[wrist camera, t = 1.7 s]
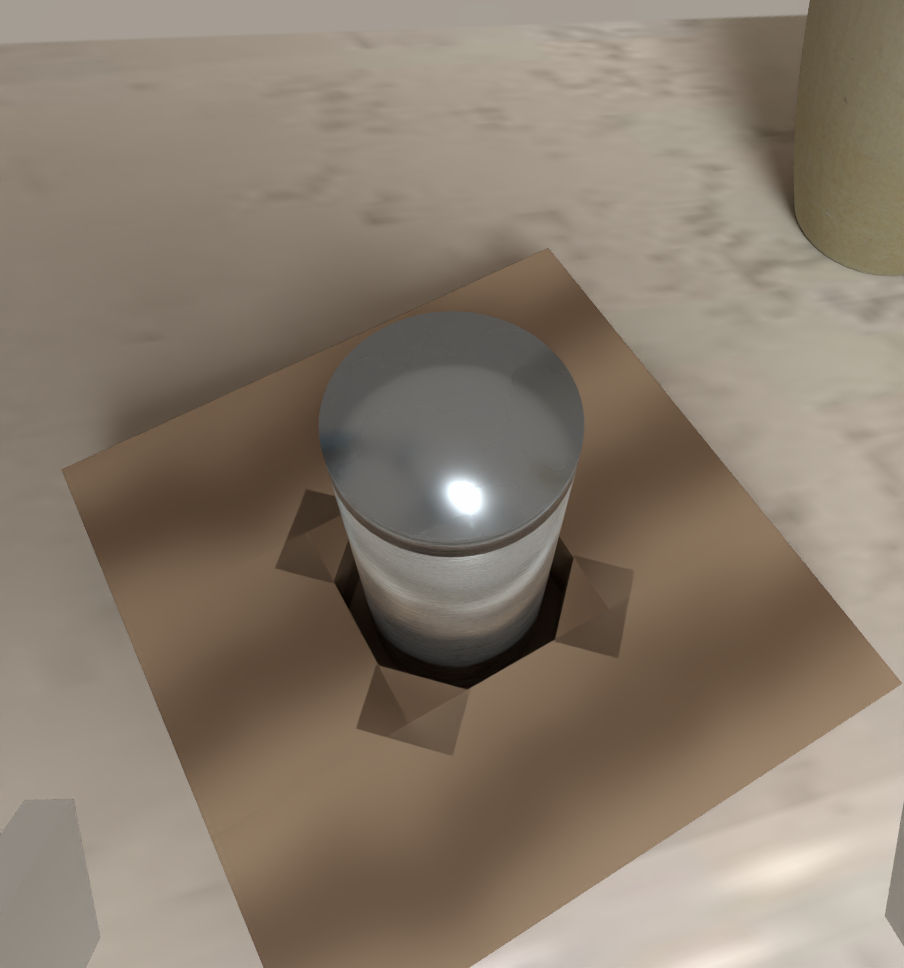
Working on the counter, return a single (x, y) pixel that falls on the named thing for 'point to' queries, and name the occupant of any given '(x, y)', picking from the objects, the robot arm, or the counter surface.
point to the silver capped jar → (452, 485)
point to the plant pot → (852, 134)
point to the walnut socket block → (445, 708)
